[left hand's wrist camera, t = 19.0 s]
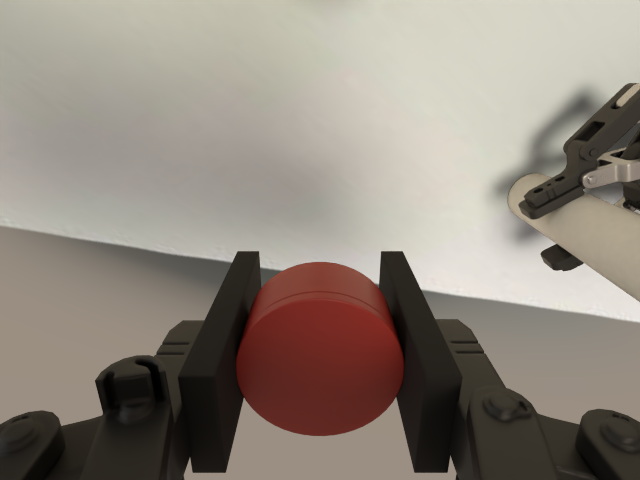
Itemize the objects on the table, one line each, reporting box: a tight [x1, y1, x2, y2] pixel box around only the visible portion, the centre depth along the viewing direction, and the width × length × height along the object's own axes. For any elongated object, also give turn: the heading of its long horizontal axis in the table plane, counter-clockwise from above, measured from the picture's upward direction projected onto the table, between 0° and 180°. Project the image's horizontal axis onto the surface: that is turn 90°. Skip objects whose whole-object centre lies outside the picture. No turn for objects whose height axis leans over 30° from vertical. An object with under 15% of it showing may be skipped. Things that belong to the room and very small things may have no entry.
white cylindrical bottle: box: [508, 173, 640, 302], centre depth 27 cm, size 4×4×18 cm
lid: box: [236, 262, 404, 436], centre depth 11 cm, size 4×4×2 cm
